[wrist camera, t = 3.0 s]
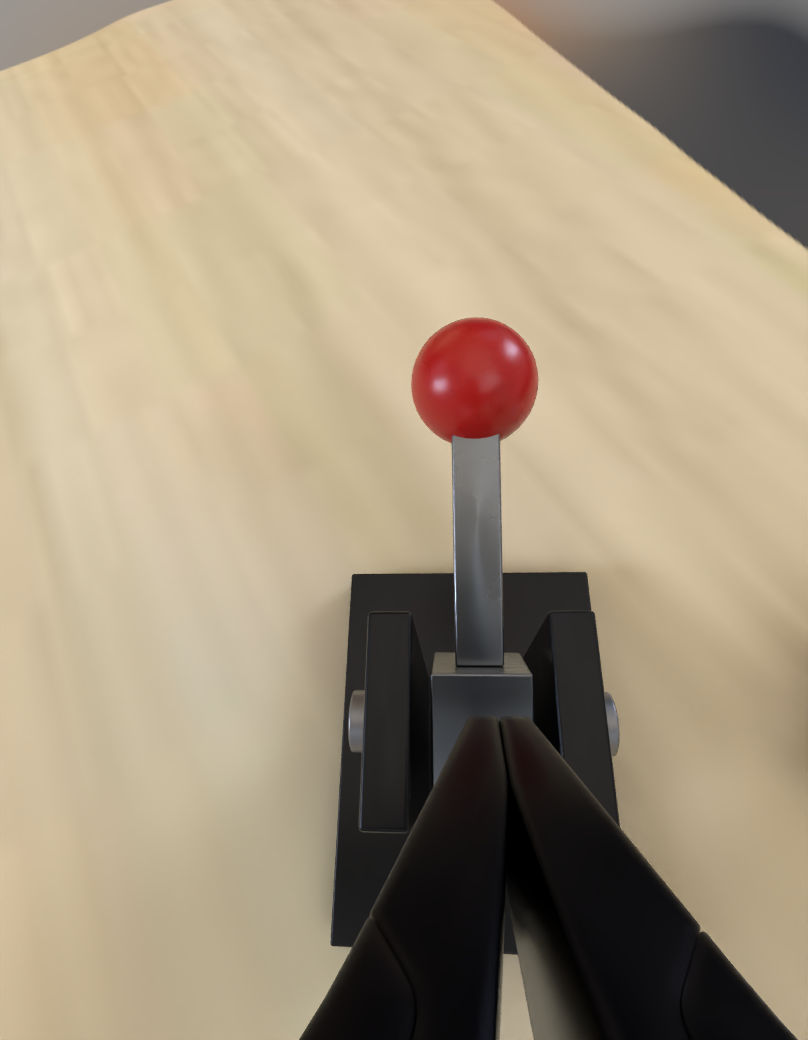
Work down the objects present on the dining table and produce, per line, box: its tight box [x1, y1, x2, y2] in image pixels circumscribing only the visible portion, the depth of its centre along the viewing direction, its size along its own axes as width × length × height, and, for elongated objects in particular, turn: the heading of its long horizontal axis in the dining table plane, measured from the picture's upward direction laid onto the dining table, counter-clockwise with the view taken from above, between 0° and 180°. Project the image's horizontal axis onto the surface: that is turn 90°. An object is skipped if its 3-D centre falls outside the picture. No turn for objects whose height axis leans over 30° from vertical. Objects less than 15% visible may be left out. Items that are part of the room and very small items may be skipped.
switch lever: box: [411, 318, 538, 788], centre depth 14 cm, size 11×3×3 cm, turn 0°
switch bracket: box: [331, 572, 620, 955], centre depth 16 cm, size 12×9×10 cm
